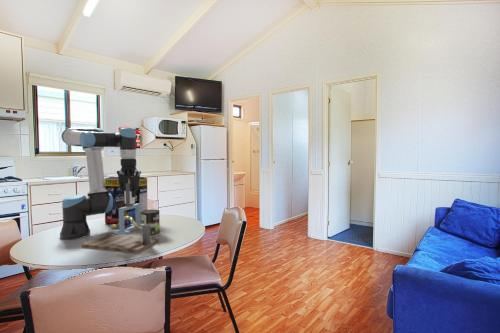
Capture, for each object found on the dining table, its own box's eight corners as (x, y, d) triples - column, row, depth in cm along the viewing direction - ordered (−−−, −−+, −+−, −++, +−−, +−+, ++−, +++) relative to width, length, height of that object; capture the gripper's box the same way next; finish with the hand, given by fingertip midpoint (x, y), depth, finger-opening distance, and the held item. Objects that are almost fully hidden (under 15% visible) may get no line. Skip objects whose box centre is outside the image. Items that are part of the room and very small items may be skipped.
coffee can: (163, 232, 172) (162, 209, 171) (154, 237, 162) (153, 213, 161) (147, 231, 174) (147, 209, 173) (137, 236, 164) (137, 212, 163)
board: (81, 247, 147) (81, 244, 147) (107, 236, 164) (107, 234, 164) (137, 253, 138) (137, 250, 137) (158, 241, 155) (158, 238, 155)
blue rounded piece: (146, 227, 183) (145, 209, 182) (139, 230, 176) (138, 211, 176) (130, 226, 186) (130, 208, 185) (123, 229, 179) (123, 210, 179)
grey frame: (113, 233, 142) (112, 184, 141) (133, 226, 157) (132, 181, 155) (127, 235, 140) (125, 184, 139) (145, 227, 155) (144, 181, 153)
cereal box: (148, 221, 198) (148, 176, 198) (139, 225, 187) (139, 177, 187) (114, 220, 203) (113, 176, 202) (103, 224, 192) (102, 177, 191)
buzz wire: (108, 241, 151) (107, 215, 150) (112, 239, 154) (111, 214, 153) (147, 245, 145) (146, 218, 144) (150, 243, 148) (149, 217, 147)
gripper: (110, 158, 145) (112, 203, 146) (136, 158, 141) (137, 205, 142) (120, 158, 152) (122, 201, 153) (145, 158, 148) (147, 202, 149)
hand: (129, 203), depth 148 cm, fingers closed on grey frame, 2 cm apart
